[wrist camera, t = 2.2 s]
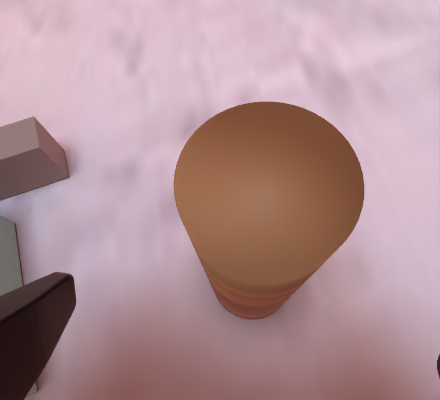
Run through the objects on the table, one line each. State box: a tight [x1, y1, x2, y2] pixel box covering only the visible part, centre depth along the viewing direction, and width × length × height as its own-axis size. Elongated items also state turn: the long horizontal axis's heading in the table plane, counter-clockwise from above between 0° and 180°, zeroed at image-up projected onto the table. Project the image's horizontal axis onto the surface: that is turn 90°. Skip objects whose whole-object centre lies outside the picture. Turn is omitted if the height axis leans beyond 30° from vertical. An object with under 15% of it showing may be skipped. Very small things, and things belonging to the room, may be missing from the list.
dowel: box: [174, 102, 364, 319], centre depth 13 cm, size 4×4×12 cm
